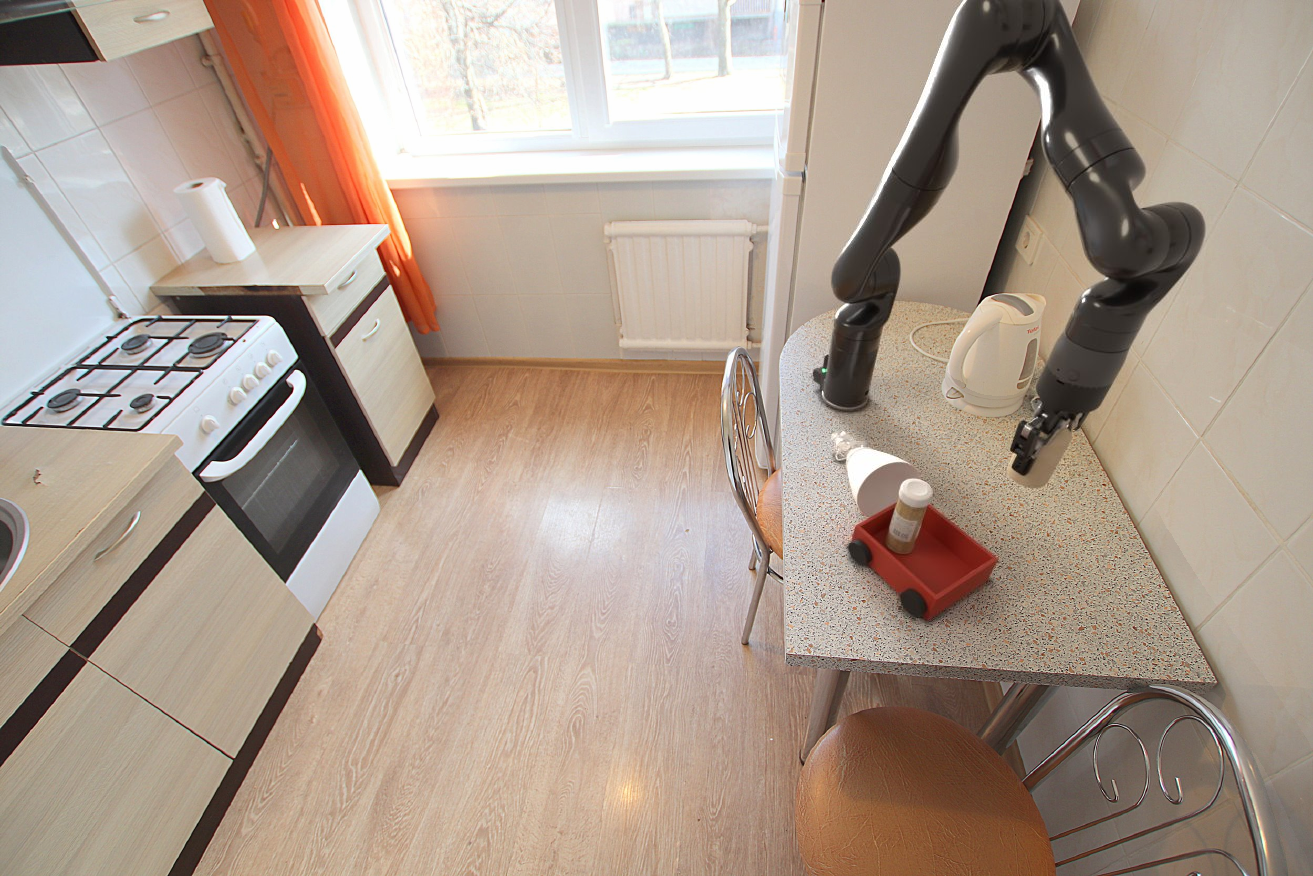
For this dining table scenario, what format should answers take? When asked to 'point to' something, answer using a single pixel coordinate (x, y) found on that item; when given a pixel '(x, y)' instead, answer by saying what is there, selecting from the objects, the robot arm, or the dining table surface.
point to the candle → (1043, 462)
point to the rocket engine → (873, 474)
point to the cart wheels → (908, 598)
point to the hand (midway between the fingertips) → (1033, 462)
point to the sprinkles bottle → (908, 515)
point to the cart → (928, 559)
